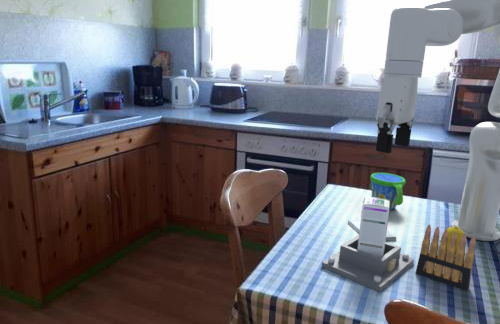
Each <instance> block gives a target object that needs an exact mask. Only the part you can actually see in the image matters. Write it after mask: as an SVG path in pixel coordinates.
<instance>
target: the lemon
mask: <svg viewBox="0 0 500 324" xmlns="http://www.w3.org/2000/svg"><path fill="white" fill-rule="evenodd" d="M446 229H447V230H448V241H447V250H448V247H449V244H450V241H451V237H452V235H453V233H454V232H455V231H456V233H457V242H456V253H457V250H458V247H459V244H460V240H461V238H462V236H463V234H464V232H463V231H462V230H461V229H459V228H458V227H457V226H454V227H451V226H449V227H447V228H446ZM443 233H444V231H443V232H442V234H441V237H440V241H441V240H442V236H443ZM456 253H455V256H456ZM446 254H447V252H446Z"/></svg>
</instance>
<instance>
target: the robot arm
mask: <svg viewBox="0 0 500 324" xmlns="http://www.w3.org/2000/svg"><path fill="white" fill-rule="evenodd" d="M492 27H493V36H494V40H495V42H496V44H497V48H498V51H499V52H500V0H443V1H439V2H435V3H430V4H425V5H423V6H415V5H414V6H409V5H408V6H400V7H396V8H394V9H393V10H392V11H391V14H390V19H389V29H388V36H387V43H386V44H387V46H386V52H385V53H386V54H385V59H384V60H385V61H384V71H383V80H382V83H381V88H380V92H379V95H378V96H379V97H378V103H377V109H376V116H375V120H376V121H377V124H376V126H377V131H376V132H377V138H376V147H375V151H376V152H379V153H385V154H391V153H392V150H393V143H394V145H397V146H401V147H409V146H410V141H411V136H412V135H411V133H412V128H413V121H414V118H415V113H416V106H417V98H418V97H417V96H418V84H419V83H418V82H419V78H422V74H423V67H424V60H425V54H426V53H425V52H426V47H446V46H449V45H452V44H454V43H455V42H457V41H458V40H459V39H460V38H461V36H462V35H467V34H475V33H478V32H482V31H484V30H487V29H490V28H492ZM488 100H489V101H488V104H487V110H488V112H489V114H490V115H491V116H493V117H496V118H499V119H500V69H499V70H498V74H497V76H496V79H495V82H494V85H493V88H492V90H491V93H490V97H489V99H488ZM396 125H397V127H396ZM395 127H396V129H395ZM394 129H395V130H396V131H395V137H394V134H393V131H394ZM393 141H394V142H393ZM468 142H469V143H468V144H469V154H468V155H469V156H468V165H467V171H466V176H465V181H464V186H463V191H462V197H461V202H460V207H459V211H458V212H459V213H458V216H457V220H456V219H455V220H453V221H451V222H450V227H454V226H457V227H458V228H459V229H461V230H462V231H463V232H464V234H465V235H466V238H469V239H472V238H473V236H475V239H476V240H477V241H483V242H484V241H485V242H495V241H497V240H499V239H500V231H499V230H498V229H497V228H496V225H497V220H498V218H499V217H498V216H499V212H500V122H496V121H484V122H480V123H478V124H476V125H475V126H474V127H473V128H472V129H471V132H470V134H469V141H468Z"/></svg>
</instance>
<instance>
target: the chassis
mask: <svg viewBox="0 0 500 324" xmlns="http://www.w3.org/2000/svg"><path fill="white" fill-rule="evenodd" d="M358 240H359V234H358V235H357V236H355V237H353V238H351V239H349V240H348V241H346V242H344V243H342V244H341V245H340V248H339V251H338V252H336V253H335V254H333V255H332V256H329V257H328V258H326V259H325V260H323V261H322V262H321V268H323V269H326V270H327V271H331V272H332V273H334V274H337V275H339V276H341V277H344V278H347V280H351V281H353V282H355V283H357V284H360V285H361V286H365V287H367V288H369V289H372V290H374V291H376V292H379V293H381V292H382V291H383V290H384V289H385V288H387V287H388V286H389V285H390V284H392V283H393V282H394V281H395V280H396V279H397V278H398V277H400V276H401V275H402V274H403V273H404V272H406V270H408V269H409V268H410V267H411V266H412V265H413V264H414V262H415V261H414V260H415V258H413V257H410V254H409V253H406V252H405V253H403V254H402V253H401V251H402V247H401V246H398V245H396V244H393V243H390V242H388V241H385V248H384V255H383V256H382V257H381V258H378V257H375V256H372V255H370V254H367V253H364V252H362V251H359V250H357V249H358Z"/></svg>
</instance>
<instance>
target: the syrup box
mask: <svg viewBox="0 0 500 324" xmlns="http://www.w3.org/2000/svg"><path fill="white" fill-rule="evenodd" d="M389 202H390V201H389V200H387V199H382V198H376V197H372V196H364V198H363V201H362V208H361V215H360V219H361V223H360V231H359V233H358V235H359V240H358V249H357V250H359V251H362V252H364V253H367V254H370V255H372V256H375V257H378V258H381V257H382V256H383V255H384V248H385V242H387V241H386V234H387V230H388V223H389V215H390V210H389Z"/></svg>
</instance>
